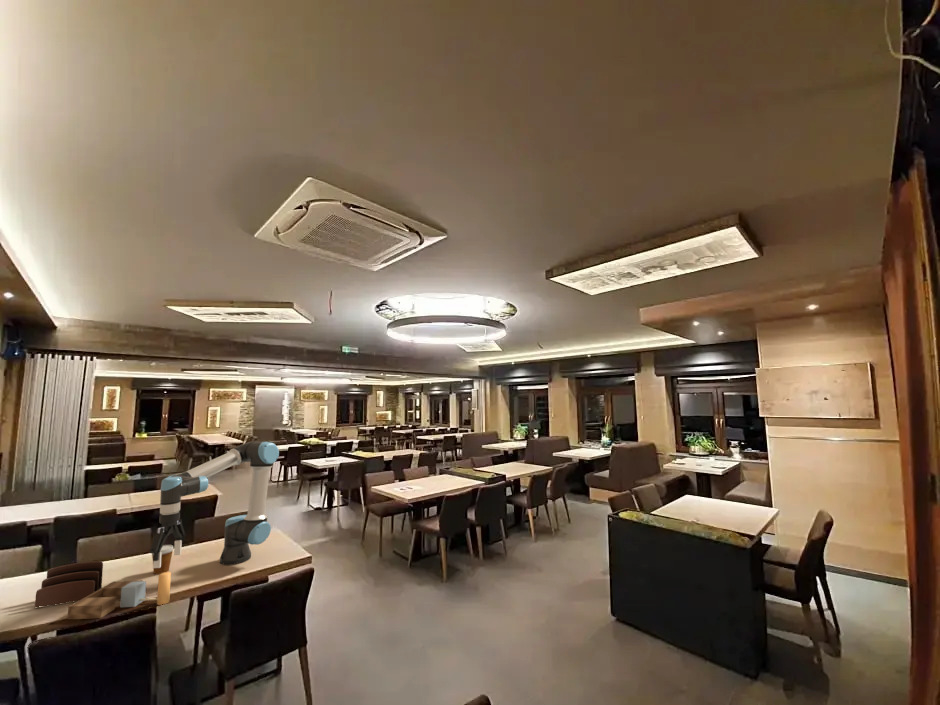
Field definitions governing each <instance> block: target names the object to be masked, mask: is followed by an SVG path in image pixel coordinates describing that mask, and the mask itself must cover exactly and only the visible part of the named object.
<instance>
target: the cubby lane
mask: <svg viewBox="0 0 940 705" xmlns="http://www.w3.org/2000/svg"><path fill="white" fill-rule="evenodd" d="M137 581H138V580H120V581H118V580H117V581H111V582H110V583H108V584H106V585H105V586H103V587H102V588H101V589H99V590H97V591H95V592H94V593H92V594H90V595H88V596H87V597H85V598H83V599H81V600H79V601H75V602H74V603H72V604H70V605H69V606H68V611H67V620H83V619H102V618H103V617H105V616H107V615H108V614H109V613H111V612H113V611H114V610H115V609H116V601H117V600H118V601H119V600H120V601H121V589H122V587H124V586H126V585H127V584H129V583H131V582H137ZM140 581H144V580H140Z"/></svg>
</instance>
